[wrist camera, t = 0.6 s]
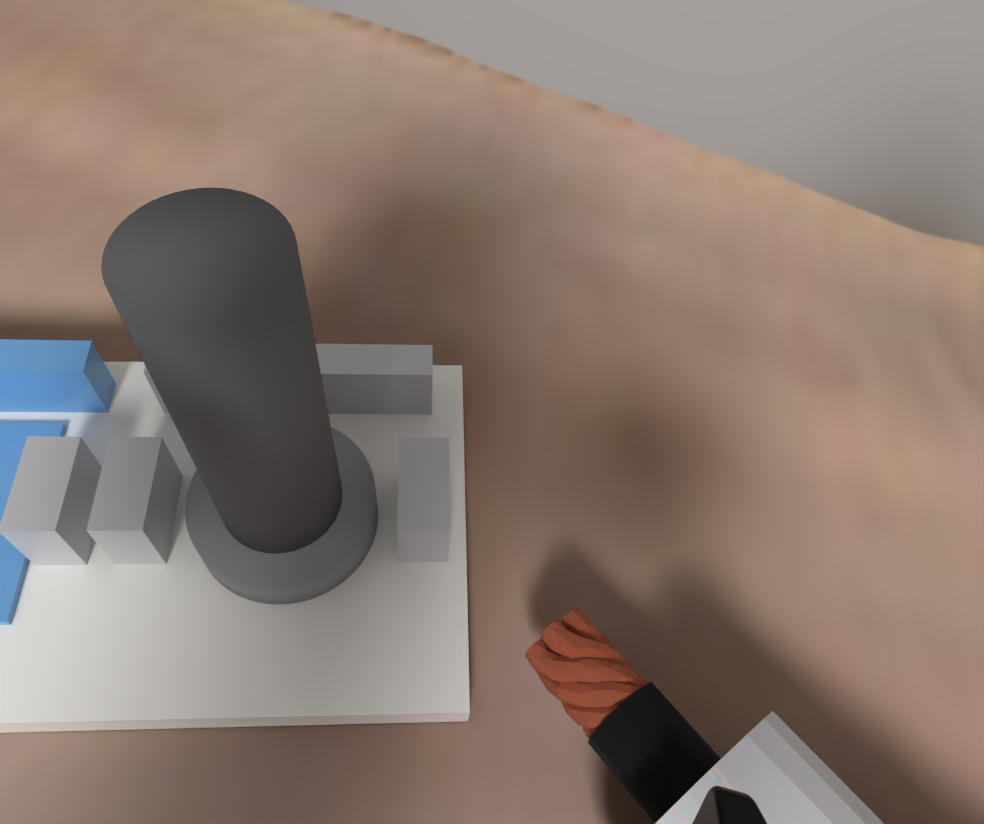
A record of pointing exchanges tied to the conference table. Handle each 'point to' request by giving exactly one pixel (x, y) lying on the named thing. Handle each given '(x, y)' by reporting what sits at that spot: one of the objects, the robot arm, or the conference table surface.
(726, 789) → the robot arm
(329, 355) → the white board with blocks
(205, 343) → the grey cylinder on disc
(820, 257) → the conference table surface
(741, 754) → the cable
